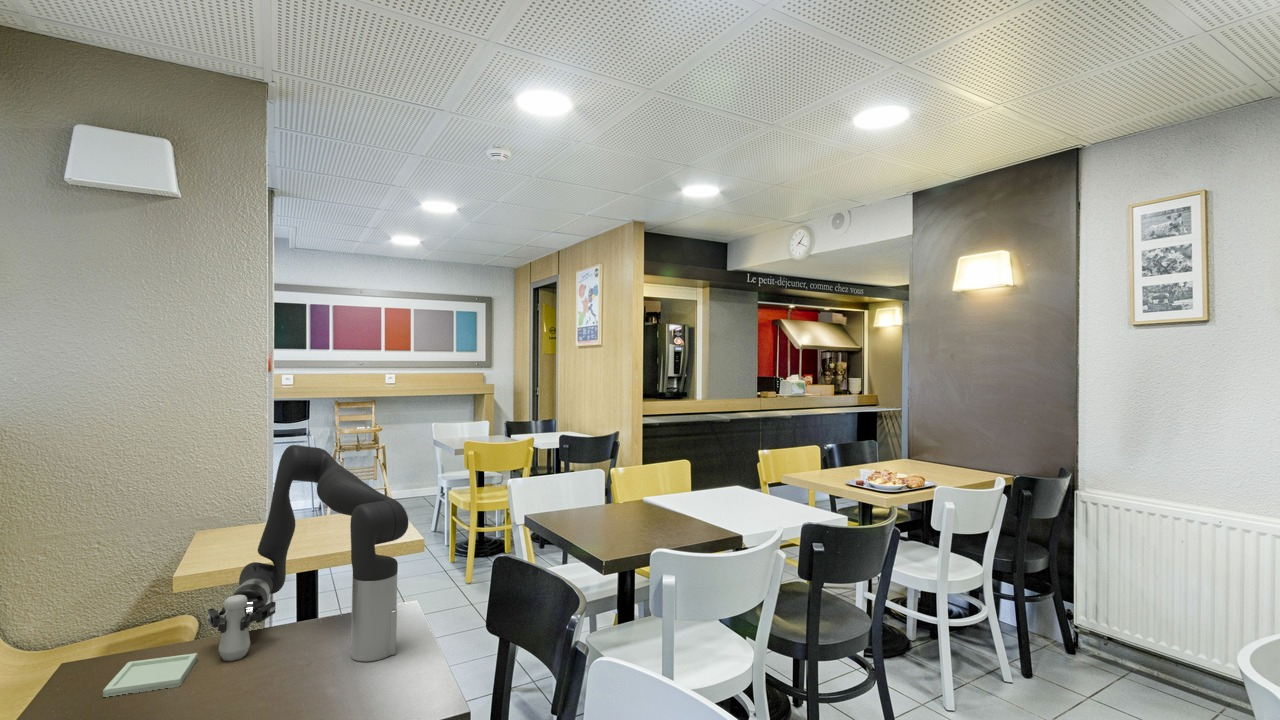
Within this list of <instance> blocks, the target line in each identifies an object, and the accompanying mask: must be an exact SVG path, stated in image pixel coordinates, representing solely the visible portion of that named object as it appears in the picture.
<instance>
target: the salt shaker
mask: <svg viewBox="0 0 1280 720" xmlns="http://www.w3.org/2000/svg"><path fill="white" fill-rule="evenodd" d="M247 601H248V600H247V597H246V596H245V595H234V596H232V595H231V596H228V597H227V598H226V599H225V600H224V601H223V607H224V608H225V610H228V611H227V615H226V620H227V622H226V631H225V633H221V637H220V639H219V644H218V653H219V655H220V656H221V658H222V660H223V661H224V662H226V661H227V662H234V661H237V660H241V659H242V658H244V657H245V656H246V655H247V653H248V652H249V649H250V646H251V640H250V637H251V636H250V633H249V627H248V628H245V630H243V631H240V623H241V620H242V618H243V617H244V616H246V615H245V609H244V607H245V606H246V605H247Z"/></svg>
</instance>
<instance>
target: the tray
mask: <svg viewBox="0 0 1280 720" xmlns="http://www.w3.org/2000/svg"><path fill="white" fill-rule="evenodd" d="M197 661H198V652H196V653H189V654H180V655H173V656H164V657H158V658H157V657H156V658H149V659H142V660H133V661H128V662H127V663H126V664H125V665H124V666H123V667H122V669H121V670H120V671H119V672H117V674H116V675H115V676H114V677H113V678H112V680H110V681H109V683H108V684H107V685H106V686H104V687H105V688H104V689H103V690H102V698H103V697H106V698H110V697H109V696H113V697H117V696H116V695H120V696H123V695H122V694H126V695H129V694H128V693H133V694H139V692H140V693H145V692H146V691H147V692H153V691H152V690H154V691H159V690H158V689H161V690H166V689H165V688H168V689H174V688H180V687H179V686H181V685H182V683H183V682H184V680H185V679H186V678H187V676H188V675H189V673H190V672H191V670H192V669H193V667H194V666H195V664H196V662H197Z"/></svg>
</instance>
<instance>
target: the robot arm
mask: <svg viewBox="0 0 1280 720" xmlns="http://www.w3.org/2000/svg"><path fill="white" fill-rule="evenodd" d="M274 481H275V482H274V486H273V492H272V496H271V502H270V503H271V504H270V508H269V512H268V513H269V514H268V517H267V521H266V525H265V527H264V530H263V533H262V535H261V538H260V541H259V544H258V548H257V553H258V555H260V556H261V557H263V558H265V559H267V560H269V561H271V562H272V563H273V564H269V563H264V562H258V561H256V562H254V561H253V562H251V563H248V564H247V565H245V566H244V568H242V570H241V572H240V575H239V579H238V587H237V588H236V589H235V591H234V592H233V594H232V595H231V596H234V595H245V596H246V597H247V600H248V601H247V605H246V606H245V607H244V609H245V615H246V616H244V617H243V618H242V620H241V623H240V631H243V630H245V628H248V629H249V627H250V626H251V625H252V624H253V622H255V623H262V622H263V621H265V620H266V619H268V618H270V617H272V616H273V615H274V614H276V608H277V607H276V603H277V602H276V601H270V602H269V599H270V595H272V594H276V593H278V592H279V591H280V590H281V589H282V588H283V587H284V585H285V583H286V578H287V577H286V575H287V570H286V569H287V556H288V552H289V549H290V546H291V542H292V539H293V537H294V534H295V530H296V517H295V513H294V510H293V507H292V503H291V499H290V489H291V486H292V483H293V481H295V482H296V481H297V482H306V483H307V482H308V483H310V482H311V483H315V484H317V485H316V494H317V496H318V498H319V500H320V501H321V502H322V503H323V504H324V505H326V506H327V507H328V508H329V509H331V510H332V511H334V512H335V513H338V514H341V515H346V516H350V553H351V554H350V559H351V567H352V587H351V588H352V589H351V590H352V592H351V593H352V594H351V622H350V623H351V626H350V627H351V628H350V635H351V636H350V657H351V659H352V660H354V661H357V662H374V661H379V660H383V659H385V658H387V657H389V656H394V655H396V654H397V621H398V616H397V615H398V611H397V610H398V608H397V607H398V604H397V603H398V602H397V601H398V567H399V565H398V560H397V559H396V558H394V557H393V556H388V555H381V554H377V552H376V546H377V545H380V544H381V545H382V544H385V543H390V542H394V541H397V540H399V539H401V538H402V537H403V536H404V535H405V534H406V532H407V531H408V528H409V516H408V513H407V512H406V509H405V507H404V506H403V505H402V504H401V503H400V502H399V501H397V500H396V499H394V498H392V497H390V496H388V495H386V494H383V493H381V492H379V491H378V490H376V489H374V488H373V487H372V486H370V485H369V484H367V483H365V482H364V481H363V480H361V479H360V478H359V477H358V476H356V474H354V473H352V472H351V471H349V470H348V469H347V468H345V467H344V466H342V465H340V463H338V462H337V461H336V460H335V459H334V457H333V456H332V455H331V454H330V453H329V452H328V451H327V450H325V449H323V448H320V447H315V446H308V445H307V446H306V445H299V444H292V445H289V446H287V447H286V449H284V451H283V452H282V455H281V457H280V459H279V462H278V468H277V471H276V476H275V480H274ZM268 602H269V603H268ZM227 611H228V610H225V608H224V606H223V607H222V608H221V609H220V610H219V609H217V608H213V607H211V608H209V609H207V622H208V623H209V624H210V625H211V627H212V628H215V629H217V632H220V634H222V633H225V631H226V622H227V620H226V615H227Z"/></svg>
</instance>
